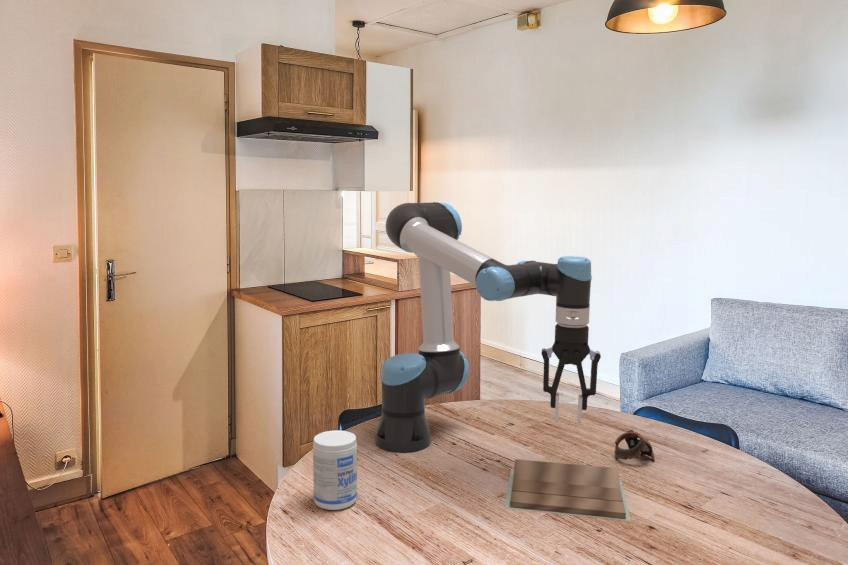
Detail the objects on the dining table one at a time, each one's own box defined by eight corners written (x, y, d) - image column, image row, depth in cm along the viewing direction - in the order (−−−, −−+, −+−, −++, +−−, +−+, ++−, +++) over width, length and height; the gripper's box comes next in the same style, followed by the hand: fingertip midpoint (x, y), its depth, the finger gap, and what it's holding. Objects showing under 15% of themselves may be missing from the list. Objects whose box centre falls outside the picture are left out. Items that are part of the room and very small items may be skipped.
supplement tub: (346, 515, 136) (345, 448, 134) (305, 508, 139) (304, 443, 137) (364, 494, 145) (363, 432, 143) (325, 488, 148) (324, 427, 146)
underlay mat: (505, 509, 139) (505, 507, 139) (510, 470, 158) (510, 469, 158) (630, 522, 134) (630, 520, 134) (620, 481, 153) (621, 479, 153)
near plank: (511, 495, 144) (511, 490, 144) (513, 483, 150) (513, 478, 150) (622, 506, 140) (623, 501, 139) (620, 493, 145) (620, 488, 145)
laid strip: (510, 506, 139) (510, 501, 139) (511, 495, 144) (511, 490, 144) (625, 518, 134) (625, 513, 134) (623, 507, 139) (623, 501, 139)
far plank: (513, 482, 151) (513, 478, 150) (514, 462, 155) (514, 459, 155) (619, 492, 146) (620, 489, 145) (618, 471, 151) (618, 468, 150)
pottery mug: (662, 470, 161) (650, 445, 158) (625, 482, 163) (613, 458, 160) (649, 440, 172) (638, 416, 169) (615, 452, 174) (604, 429, 171)
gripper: (532, 325, 145) (529, 424, 149) (613, 329, 142) (608, 430, 145) (533, 319, 153) (530, 413, 156) (610, 322, 149) (605, 419, 153)
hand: (567, 421), depth 151 cm, fingers open, 4 cm apart
